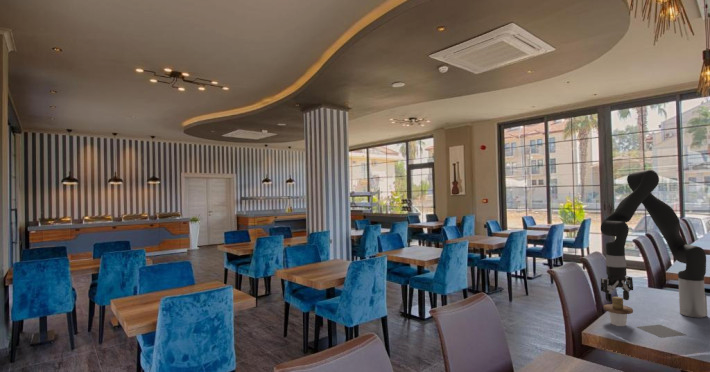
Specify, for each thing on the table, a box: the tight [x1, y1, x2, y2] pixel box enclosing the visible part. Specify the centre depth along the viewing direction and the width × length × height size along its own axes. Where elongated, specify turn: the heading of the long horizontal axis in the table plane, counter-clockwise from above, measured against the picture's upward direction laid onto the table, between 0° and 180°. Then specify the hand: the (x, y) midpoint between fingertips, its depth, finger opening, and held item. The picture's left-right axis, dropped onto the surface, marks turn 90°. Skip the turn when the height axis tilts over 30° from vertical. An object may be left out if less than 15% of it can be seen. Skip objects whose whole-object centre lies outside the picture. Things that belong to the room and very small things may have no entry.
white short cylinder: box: [609, 312, 628, 327], centre depth 172 cm, size 7×7×7 cm
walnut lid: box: [603, 296, 634, 315], centre depth 172 cm, size 11×11×6 cm
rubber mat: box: [636, 324, 687, 339], centre depth 162 cm, size 12×12×1 cm
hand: (617, 300), depth 172 cm, fingers open, 8 cm apart
